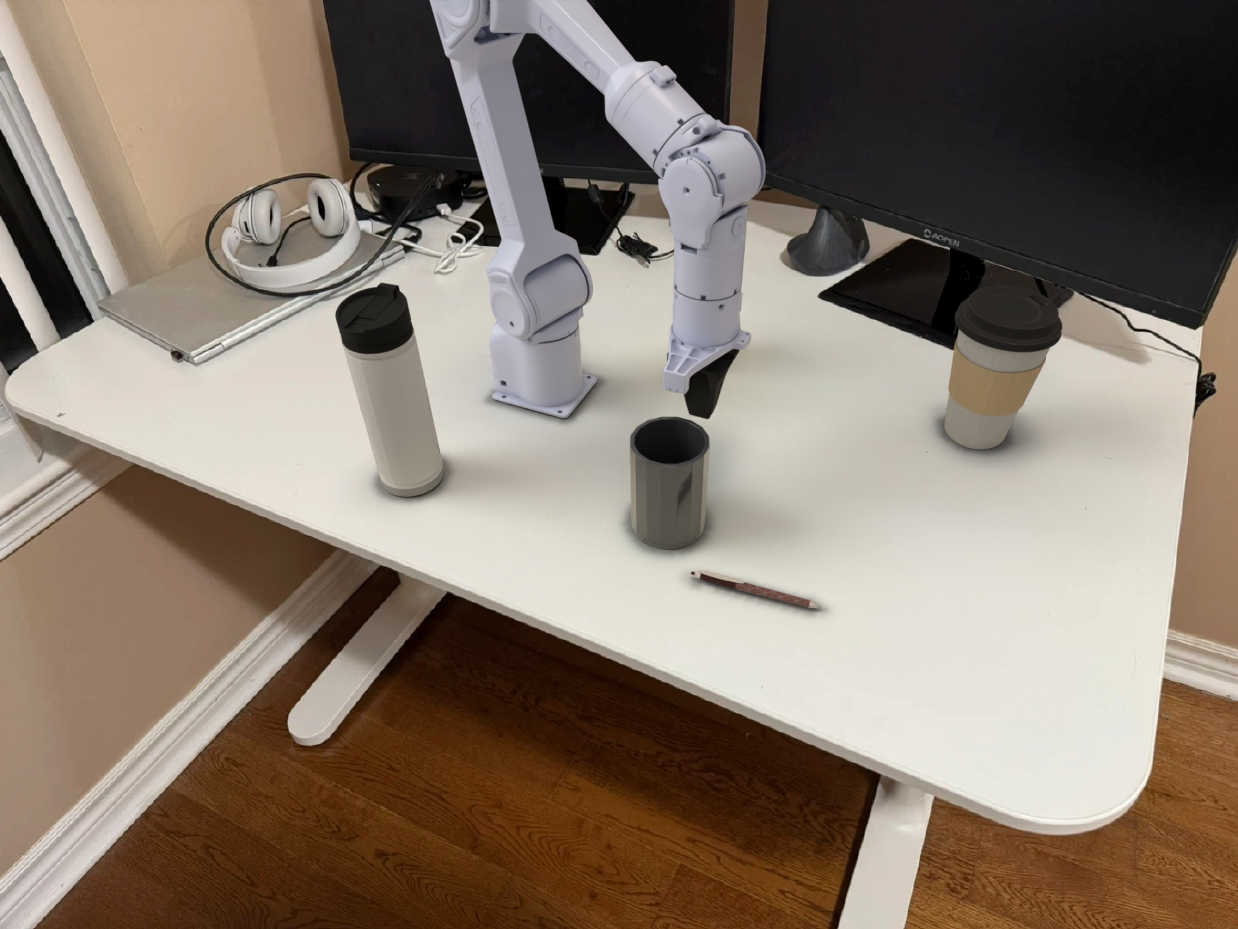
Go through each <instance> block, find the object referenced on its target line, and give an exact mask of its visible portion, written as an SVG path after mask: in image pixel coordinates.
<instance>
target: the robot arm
mask: <svg viewBox="0 0 1238 929" xmlns="http://www.w3.org/2000/svg"><path fill="white" fill-rule="evenodd" d="M429 3H430V6H431V10H432V13H433V16H434V20H435V24H436V27H437V31H438V33H439V34H438V35H439V38H440V40H441V44H442V48H443V50H444V55H445V57H447V58H448V59H449V61H450V65H451V68H452V72H453V76H454V78H455V82H456V86H457V89H458V92H459V93H458V94H459V96H460V99H461V103H462V106H463V110H464V113H465V117H466V119H467V124H468V127H469V132H470V135H471V138H472V141H473V144H474V148H475V151H476V152H475V153H476V155H477V158H478V162H479V165H480V166H479V167H480V169H481V172H482V177H483V179H484V182H485V186H486V190H487V193H488V197H489V200H490V204H491V208H492V210H493V215H494V218H495V221H496V224H497V228H498V231H499V232H498V233H499V235H500V238H501V240H500V244H499V245H498V247H497V249H496V251H495V253H494V254H493V256H492V257H491V260H490V261H489V264H488V265H487V267H486V269H485V272H486V275H487V279H488V283H489V304H490V309H491V313H492V315H493V317H494V319H495V322H494V324H493V325H492V329H491V332H490V336H489V354H490V363H491V368H492V369H491V370H492V376H493V380H494V381H493V383H494V389H495V391H493V393H492V396H491V397H492V400H495V401H497V402H498V401H499V402H501V403H505V404H508V405H513V406H516V407H520V408H524V409H528V410H531V411H534V412H539V413H541V414H546V415H549V416H553V417H557V418H561V419H567V418H568V417H570V415H571V414H572V413H573V412H574V411H575V409H576V408H577V407H578V406H579V404H580V403H581V402H582V401H583V400H584V398H585V397H586V396H587V394H588V393H589V392H590V391H591V389H592V388H593V387H595V385H596V384H597V383H598V377H597V376H594V375H592V374H587V373H584V372H583V366H582V364H583V363H582V350H581V349H582V348H581V335H580V320H581V319H582V318H583V317H584V306H586V305H588V304H589V303H590V302H591V300H592V298H593V294H594V283H593V278H592V275H591V272H590V270H589V269H588V266H587V265H586V263H585V261H584V260H583V258H582V256H581V253H580V249H579V245H578V242H577V240H576V239H574V238H573V237H571V236H570V235H567V234H565V233H563V232H560V231H559V230H557V229H555V224H554V222H553V217H552V214H551V209H550V206H549V202H548V198H547V194H546V190H545V189H546V188H545V186H544V182H543V178H542V173H541V171H540V170H541V169H540V166H539V162H538V158H537V155H536V150H535V146H534V143H533V138H532V135H531V131H530V127H529V123H528V119H527V115H526V110H525V107H524V103H523V100H522V94H521V91H520V88H519V84H518V80H517V76H516V71H515V67H514V63H513V60H514V57H515V54H516V52H517V51H518V49H519V47H520V45H521V43H522V41H523V39H524V36H525V35H526V34H536V35H538V36H539V37H540V38H542V39H543V40H544V41H545V42H546V43H547V44H548V45H549V46H550V47H551V48H553V49H554V50H555V51H556V52H557V53H558V54H559V55H560V56H561V57H562V58H563V59H565V60H566V62H568V63H569V64H570V65H571V66H572V67H573V68H574V69H575V70H576V71H578V72H579V73H580V74H581V75H582V76H583V77H584V78H585V79H586V80H587V81H588V82H590V83H591V85H593V86H594V87H595V88H596V89H597V90H598V91H599V92H600V93H601V94H602V95H603V96H604V113H605V118H606V120H607V122H608V123H609V124H610V125H611V126H612V127H613V129H614V130H615V131H616V132H617V133H618V134H619V135H620V136H621V137H622V138H623V139H624V140H625V141H626V142H627V143H628V145H630V147H631V148H632V149H633V150H634V151H635V152H636V153H637V154H638V155H639V157H641V159H642V160H643V161H644V162H645V163H646V164H647V165H648V166H649V167H650V168H651V169H652V171H654V172H655V174H656V175H657V176H658V177H659V178H658V179H657V181H658V191H659V195H660V198H661V200H662V204H663V205H664V207H665V208H666V210H667V213H668V216H669V221H670V224H669V229H670V230H669V232H670V233H672V239H673V240H674V241H673V282H672V283H673V284H672V285H673V288H672V289H673V290H672V322H671V325H670V329H669V342H668V352H667V354H666V365H665V367H664V368H663V370H662V390H665V391H668V392H672V393H676V394H680V395H681V394H682V395H683V398H684V401H685V405H686V408H687V412H688V415H689V416H693V417H697V418H700V419H704V420H709V419H711V417H712V415H713V414H714V412H715V410H716V407H717V405H718V402H719V398H720V395H721V392H722V388H723V386H724V382H725V379H726V377H727V375H728V374H727V373H728V371H729V369H730V367H731V366H732V364H733V363H734V360H735V359H736V358H737V356H738V355H739V353H740V351H743V350H746V349H748V347H749V346H750V344H751V342H752V333H751V332H749V331H747V330H743V329H741V311H742V307H743V306H742V303H743V292H742V290H743V289H742V288H743V287H742V286H743V278H744V277H743V276H744V265H745V264H744V263H745V253H746V252H745V250H746V239H747V226H748V215H749V214H748V213H749V204H746V203H747V202H749V201H751V200H752V199H753V198H754V197H755V196H756V195H758V193H759V192H760V191H761V189H762V187H763V186H764V183H765V179H766V173H767V172H766V170H767V169H766V161H765V156H764V154H763V151H762V149H761V147H760V146H759V144H758V143H757V141H756V140H755V139H754V137H753V136H752V133H751V132H750V131H748V130H747V129H745V128H744V127H742V126H738V125H727V124H724V123H723V122H722V121H721V120H720V119H715V118H714V117H712V116H711V115H710V114H708V113H707V112H706V111H705V110H704V109H703V108H702V107H701V106H700V105H699V104H698V103H697V101H696V100H694V98H693V97H691V95H690V94H689V93H688V92H687V91H686V90H685V89H684V88H683V86H681V84H680V83H678V82H677V81H676V80H677V74H676V73H674V71H673V70H672V69H671V68H670V67H669V66H668V65H663V66H662V65H661V63H659V62H657V61H654V60H648V61H636V60H635V59H634V57H633V56H632V54H630V52H629V51H628V50H627V49H626V47H625V46H624V45H623V44H622V42H621V41H620V40H619V39H618V37H617V36H616V35H615V34H614V32H613V31H612V30H611V29H610V27H609V26H608V25H607V24H606V23H605V21H604V20H603V19H602V18H601V17H600V15H599V14H598V13H597V12H596V10H595V9H594V8H593V6H592V5H591V4H590V3H589V2H588V0H429Z"/></svg>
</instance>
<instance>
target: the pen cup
mask: <svg viewBox="0 0 1238 929" xmlns="http://www.w3.org/2000/svg"><path fill="white" fill-rule="evenodd" d="M629 441H630V442H629V460H630V461H629V465H630V466H629V468H630V469H629V470H630V471H629V472H630V509H631V510H630V512H631V515H630V516H631V517H630V518H631V527H632V531H633V532H634V534H635V536H636V537H637V538H638V539H639V540H640V541H641V542H643V543H644V544H646V545H648V546H649V547H653V548H656V549H661V550H677V549H681V548H685V547H687V546H689V545H692V544H693V543H695V542H696V541H697V540H698V539H699V538H700V537H701V536H702V534H703V533H704V530H705V525H706V514H707V499H708V483H709V482H708V481H709V463H710V449H711V448H710V446H711V445H710V435H709V434H708V433H707V431H706V430H705V428H704V427H703V426H702V425H700V424H699V423H697V422H695V421H694V420H691V419H688V418H684V417H680V416H658V417H654V418H651V419H647V420H645V421H643V422H642V423H641V424H639V425H637V426H636V427H635V428H634V430H633V431H632V433H630V436H629Z"/></svg>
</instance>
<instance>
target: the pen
mask: <svg viewBox="0 0 1238 929" xmlns="http://www.w3.org/2000/svg"><path fill="white" fill-rule="evenodd" d="M690 575H692V576H694V577H695V578H697V579H698V580H701V581H705V582H708V583H711V584H715V585H718V586H722V587H726V588H729V589H733V590H736V591H741V592H744V593H748V594H752V595H756V596H760V597H764V598H767V599H772V600H777V601H780V602H783V603H787V604H792V605H794V606H795V605H796V606H799V607H803V608H810V609H818V608H821V606H820V605H819V603H816V602H814V601H812V600H811V599H807V598H804V597H800V596H797V595H792V594H789V593H785V592H782V591H779V590H778V591H777V590H775V589H770V588H767V587H763V586H760V585H756V584H752V583H750V582H749V583H748V582H746V581H743V580H741V579H739V578H735V577H731V576H727V575H725V574H721V573H717V572H711V571H707V570H698V571H691V572H690Z"/></svg>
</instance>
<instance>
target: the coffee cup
mask: <svg viewBox="0 0 1238 929" xmlns="http://www.w3.org/2000/svg"><path fill="white" fill-rule="evenodd" d="M954 322H955V325H956V327H957V329H958V332H957V337H956V339H955V341H954V348H953V354H952V359H951V360H952V361H951V368H950V374H949V380H948V388H947V389H948V398H947V404H946V409H945V410H946V411H945V418H944V425H943V426H944V427H943V429H944V431H945V433H946V435H947V436H948V438H950V439H951V440H952V441H954V442H955V443H956V444H958V445H960V446H962V447H964V448H967V449H971V450H989V449H993V448H996V447H997V446H999V445H1001V443H1002V442H1003V441H1004V440H1005V437H1006V436H1007V435H1008V432H1009V431H1010V428H1011V426H1012V424H1013V422H1014V420H1015V419H1016V416H1017V415H1018V413H1019V411H1020V409H1022V407H1023V406H1024V404H1025V402H1026V400H1027V399H1028V396H1029V395H1030V393H1031V391H1032V389H1033V387H1034V385H1035V383H1036V381H1037V379H1038V377H1039V375H1040V373H1041V371H1042V369H1043V367H1044V365H1045V363H1046V360H1047V355H1048V353H1049V352H1050V349H1051V348H1052V347H1054V346H1056V345H1057V344H1058V343H1059V341H1060V340H1061V338H1062V331H1063V322H1062V320H1061V317H1060V311H1059V309H1058V306H1057V304H1056V303H1054V302H1053V301H1052V300H1051V299H1050V298H1048V297H1046V296H1045V295H1043V294H1041V293H1039V292H1037V291H1034V290H1032V289H1029V288H1025V287H1020V286H1016V285H1015V286H1014V285H1006V284H1005V285H1003V284H1002V285H1001V284H999V285H997V284H995V285H988V286H983V287H980V288H977V289H976V290H974V291H973V292H972V293H971V294H970V295H969V297H968V298H966V299H964V300H963V301H962V302H961V303H960V304H959V306H958V308H957V310H956V311H955V314H954Z"/></svg>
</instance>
